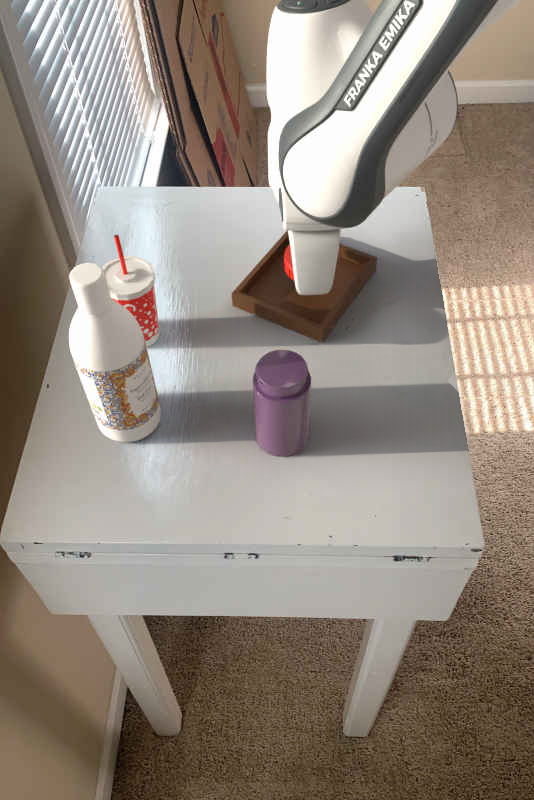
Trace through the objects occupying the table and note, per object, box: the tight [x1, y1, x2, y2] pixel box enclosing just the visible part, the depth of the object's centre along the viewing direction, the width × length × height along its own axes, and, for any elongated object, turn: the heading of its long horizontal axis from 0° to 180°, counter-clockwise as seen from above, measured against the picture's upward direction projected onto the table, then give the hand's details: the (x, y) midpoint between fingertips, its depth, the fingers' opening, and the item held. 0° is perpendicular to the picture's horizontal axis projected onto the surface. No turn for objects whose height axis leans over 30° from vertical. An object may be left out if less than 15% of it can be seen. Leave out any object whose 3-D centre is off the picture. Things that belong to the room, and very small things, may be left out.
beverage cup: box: [101, 234, 161, 348], centre depth 75 cm, size 6×6×14 cm
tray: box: [231, 230, 378, 344], centre depth 84 cm, size 14×12×2 cm
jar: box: [252, 349, 312, 458], centre depth 68 cm, size 6×6×11 cm
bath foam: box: [68, 262, 162, 443], centre depth 66 cm, size 7×7×20 cm
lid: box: [284, 244, 295, 281], centre depth 82 cm, size 6×6×2 cm
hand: (306, 270), depth 83 cm, fingers closed on lid, 6 cm apart
